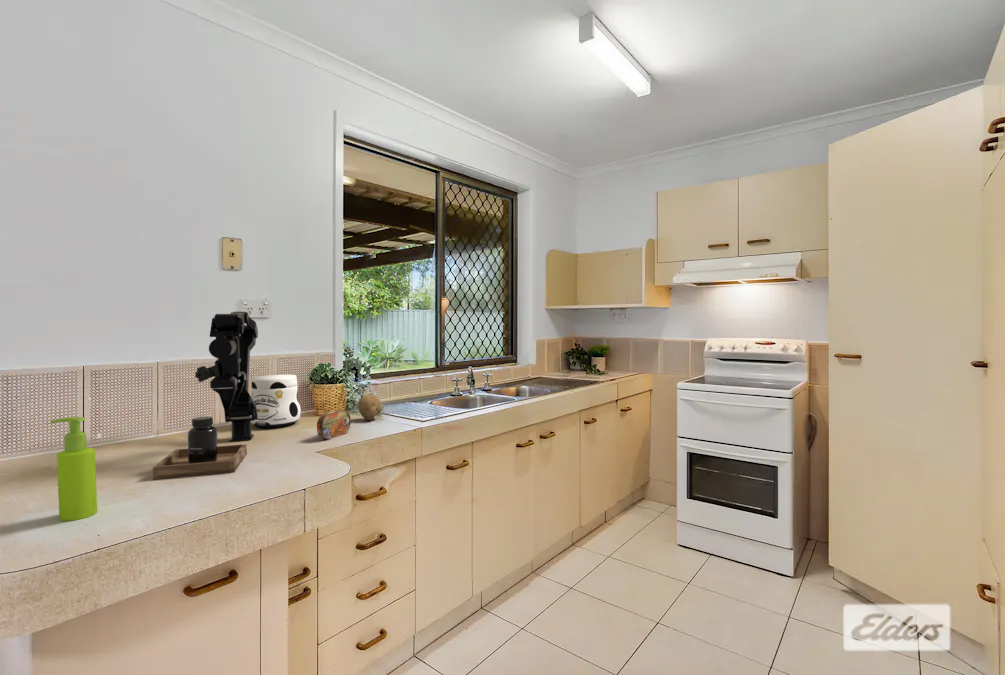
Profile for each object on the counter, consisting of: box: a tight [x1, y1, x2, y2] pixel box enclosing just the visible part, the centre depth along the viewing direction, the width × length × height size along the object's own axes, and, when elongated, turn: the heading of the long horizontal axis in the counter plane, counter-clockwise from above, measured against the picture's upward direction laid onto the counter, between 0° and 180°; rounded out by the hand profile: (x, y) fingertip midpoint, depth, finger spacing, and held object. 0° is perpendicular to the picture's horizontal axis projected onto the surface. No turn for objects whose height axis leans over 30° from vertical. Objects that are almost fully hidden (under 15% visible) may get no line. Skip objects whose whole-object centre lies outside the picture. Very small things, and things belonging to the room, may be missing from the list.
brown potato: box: [357, 393, 383, 421], centre depth 194 cm, size 9×9×10 cm
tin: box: [316, 409, 352, 440], centre depth 168 cm, size 15×3×8 cm, turn 161°
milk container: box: [250, 374, 301, 428], centre depth 186 cm, size 17×17×18 cm
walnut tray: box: [152, 443, 248, 481], centre depth 135 cm, size 18×18×3 cm
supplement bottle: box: [187, 416, 218, 464], centre depth 135 cm, size 7×7×12 cm
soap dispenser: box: [49, 416, 98, 522], centre depth 101 cm, size 6×7×20 cm
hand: (230, 408), depth 149 cm, fingers open, 9 cm apart
